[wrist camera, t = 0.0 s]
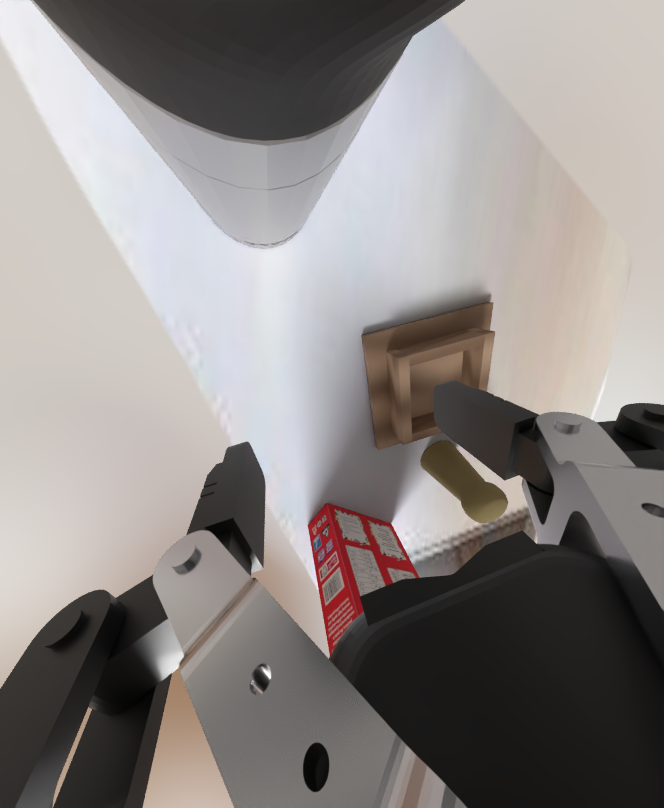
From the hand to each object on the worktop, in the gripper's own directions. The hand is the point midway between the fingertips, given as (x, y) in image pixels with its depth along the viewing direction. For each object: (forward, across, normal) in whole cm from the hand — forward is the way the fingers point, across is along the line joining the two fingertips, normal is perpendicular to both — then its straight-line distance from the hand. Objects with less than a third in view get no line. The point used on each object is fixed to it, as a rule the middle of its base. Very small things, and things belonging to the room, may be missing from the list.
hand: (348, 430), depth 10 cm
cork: (+18, -17, +22) cm, 33 cm away
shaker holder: (+18, -15, +8) cm, 24 cm away
